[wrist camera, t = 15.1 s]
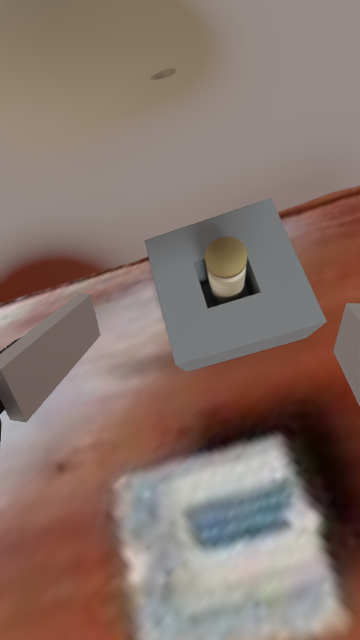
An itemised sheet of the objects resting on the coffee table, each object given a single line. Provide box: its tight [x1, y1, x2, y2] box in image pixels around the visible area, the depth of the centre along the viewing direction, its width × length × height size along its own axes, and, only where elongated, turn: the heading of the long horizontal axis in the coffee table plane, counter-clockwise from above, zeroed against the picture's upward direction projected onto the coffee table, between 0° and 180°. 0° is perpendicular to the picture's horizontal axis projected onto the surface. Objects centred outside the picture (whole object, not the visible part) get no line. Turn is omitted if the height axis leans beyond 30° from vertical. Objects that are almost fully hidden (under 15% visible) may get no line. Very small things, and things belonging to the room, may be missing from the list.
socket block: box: [145, 198, 327, 372], centre depth 34 cm, size 16×16×8 cm
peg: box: [205, 237, 247, 306], centre depth 31 cm, size 4×4×12 cm
